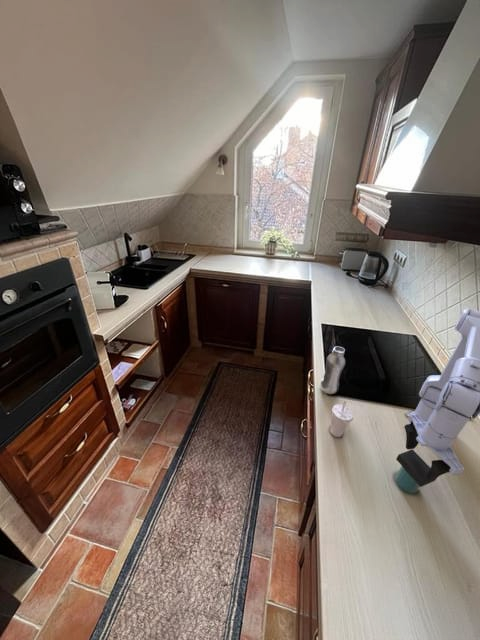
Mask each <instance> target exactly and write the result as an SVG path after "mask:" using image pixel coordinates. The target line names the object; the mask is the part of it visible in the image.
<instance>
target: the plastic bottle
mask: <svg viewBox="0 0 480 640" xmlns="http://www.w3.org/2000/svg"><path fill="white" fill-rule="evenodd" d="M345 351H346V349H345V348H344V347H342V346H337V345H335V346H334V347H333V350H332V351H331V352H332V353H330V354H329V355H328V356H327V357H326V360H325V371H324V374H323V377H322V379H321V380H320V389H321V391H322V392H323V393H325V394H327V395H334V394H336V393H338V391H339V388H340V379H341V374H342V372H343V370H344V368H345V366H346V358H345V357H344V355H345Z"/></svg>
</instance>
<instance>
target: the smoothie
mask: <svg viewBox="0 0 480 640" xmlns="http://www.w3.org/2000/svg"><path fill="white" fill-rule="evenodd" d="M346 404H347V399H344V400H343V404H342V403H337V404H335V405H333V406H332V409H331V422H330V430H329V431H330V433H331V435H333V436H334V437H335V438H341V437H342V436H343V434H344V433H345V431H346V430H347V428H348V426H349V424H350V423H351V422H352V421H353V420H354V417H355V414H354V411H353V410H352V408H350V407H349V406H347V405H346Z"/></svg>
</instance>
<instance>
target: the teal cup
mask: <svg viewBox="0 0 480 640" xmlns="http://www.w3.org/2000/svg"><path fill="white" fill-rule="evenodd" d="M394 479H395V482H396V485H397V486H398V487H399V488H400V490H402V491H404V492H405V493H407V494H411V495H413V494H416V493H417V492H418V491H419V490H420V488H421V487H420V486H419V485H418V484H417V482H416V481H415V480H414V479H413V478H412V477H411V476H410V475H409V473H408V472H407V471H406V470H405V469H404V468H403V467H402V465H400V467H399V469H398V471H397V473H396V475H395V477H394Z"/></svg>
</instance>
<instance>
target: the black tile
mask: <svg viewBox="0 0 480 640" xmlns="http://www.w3.org/2000/svg"><path fill="white" fill-rule="evenodd" d="M395 459H396V461H397V462H398V463H399V464H400V466H402V467H403V468H404V469H405V470H406V471H407V472H408V473H409V475H410V476H411V477H412V478H413V479H414V480H415V481H416V482H417V484H418V485H419V486H420V488H422V487H424V486H426V485H429V484H432V483H433V482H435V481H436V480H437V479H438V477H437V478H435V479H428V478H427V473H428V472H429V471H430V469H431V466H430V465H429V464H427V462H426V461H425V460H424V459H423V458H422V457H421V456H420V455H419V454H418V453H417V452H416V451H415V450H414V449H408V450H407V451H404V452H402V453H399V454H398V455H397V456H396V458H395Z"/></svg>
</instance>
